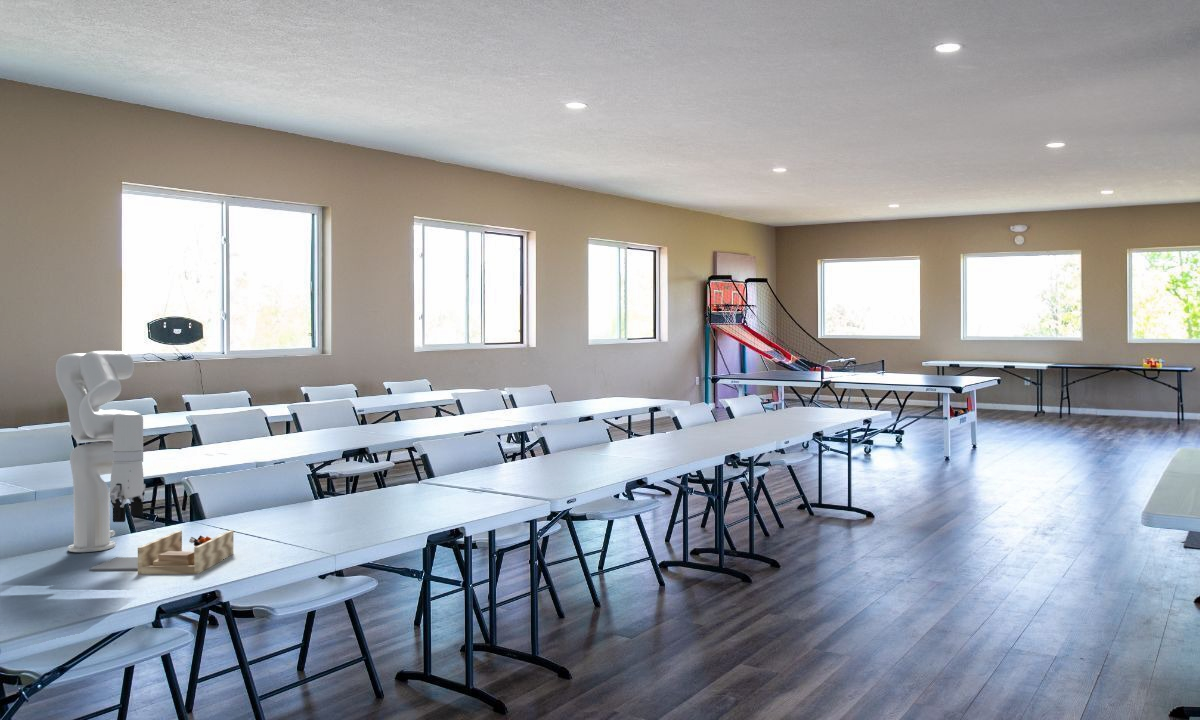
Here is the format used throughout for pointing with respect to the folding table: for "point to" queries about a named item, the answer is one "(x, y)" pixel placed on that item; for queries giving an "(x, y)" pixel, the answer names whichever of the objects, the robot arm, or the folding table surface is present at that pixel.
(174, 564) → the offcuts
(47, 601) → the folding table surface
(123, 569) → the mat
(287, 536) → the folding table surface
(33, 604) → the folding table surface
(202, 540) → the toy
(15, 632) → the folding table surface
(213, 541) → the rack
